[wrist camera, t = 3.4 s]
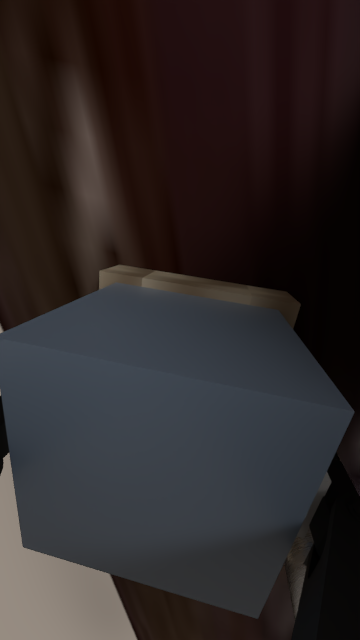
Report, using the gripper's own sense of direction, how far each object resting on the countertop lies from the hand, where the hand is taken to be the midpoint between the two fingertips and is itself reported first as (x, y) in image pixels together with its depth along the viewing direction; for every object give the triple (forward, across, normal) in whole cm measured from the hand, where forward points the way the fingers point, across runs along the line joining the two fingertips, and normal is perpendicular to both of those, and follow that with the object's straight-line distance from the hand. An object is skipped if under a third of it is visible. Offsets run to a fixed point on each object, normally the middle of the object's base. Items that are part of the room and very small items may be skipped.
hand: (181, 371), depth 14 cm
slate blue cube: (+1, 0, 0) cm, 1 cm away
